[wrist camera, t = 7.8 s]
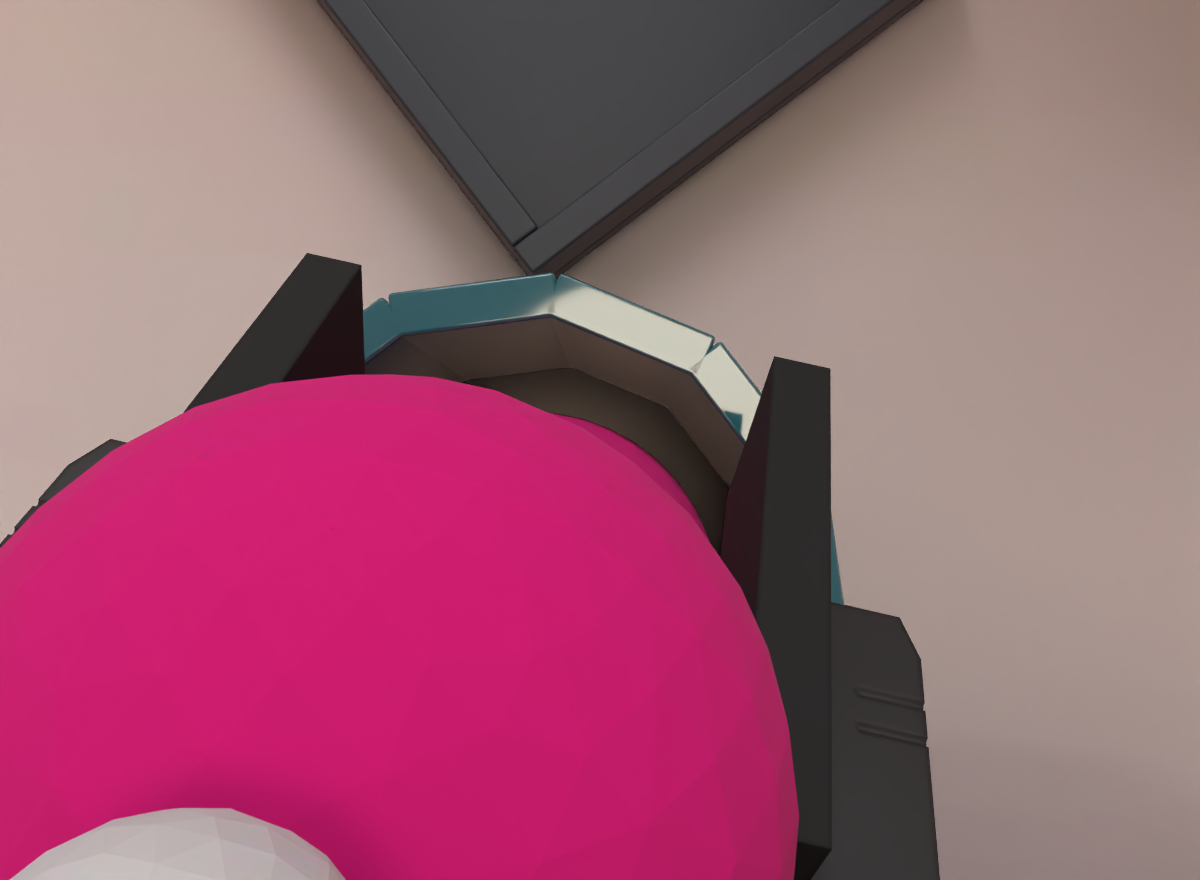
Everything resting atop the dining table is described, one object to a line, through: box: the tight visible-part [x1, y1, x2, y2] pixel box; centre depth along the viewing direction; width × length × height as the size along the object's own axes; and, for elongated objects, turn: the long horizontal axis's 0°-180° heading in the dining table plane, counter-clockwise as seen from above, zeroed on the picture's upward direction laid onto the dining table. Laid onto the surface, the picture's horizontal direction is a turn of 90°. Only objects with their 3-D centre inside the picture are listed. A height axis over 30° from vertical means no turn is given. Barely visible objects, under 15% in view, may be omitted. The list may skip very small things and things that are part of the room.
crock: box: [363, 273, 844, 605], centre depth 20 cm, size 12×12×8 cm
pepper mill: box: [0, 374, 799, 880], centre depth 13 cm, size 7×7×20 cm
